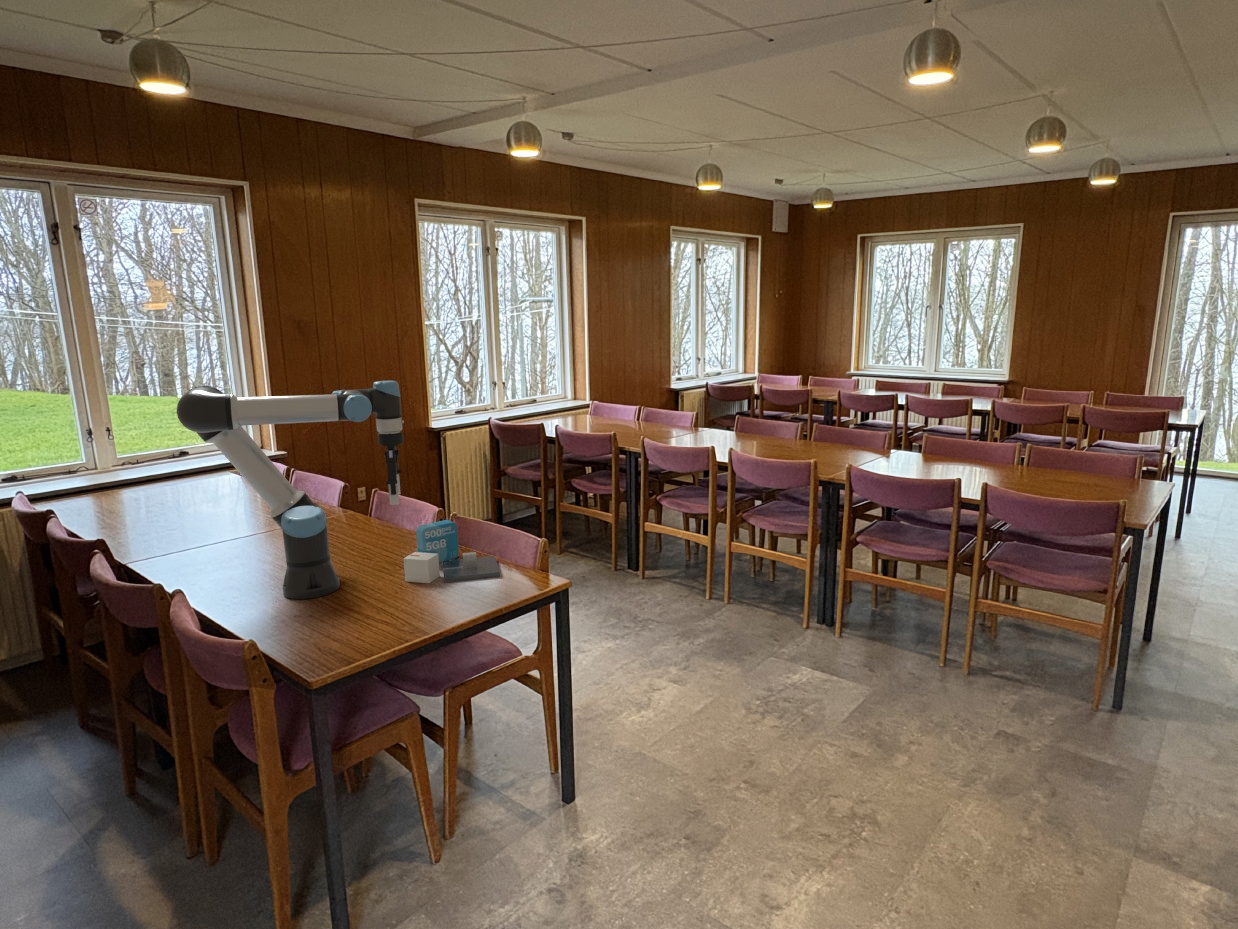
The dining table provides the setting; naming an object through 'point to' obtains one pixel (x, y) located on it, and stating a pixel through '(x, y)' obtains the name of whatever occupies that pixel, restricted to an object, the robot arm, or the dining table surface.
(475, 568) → the plate
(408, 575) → the white box
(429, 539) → the data package
